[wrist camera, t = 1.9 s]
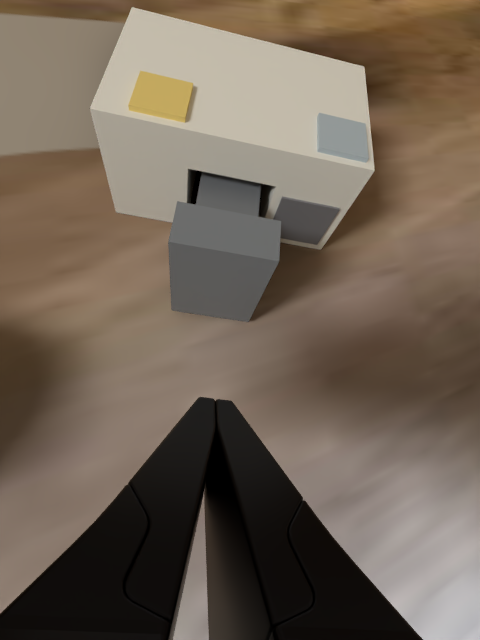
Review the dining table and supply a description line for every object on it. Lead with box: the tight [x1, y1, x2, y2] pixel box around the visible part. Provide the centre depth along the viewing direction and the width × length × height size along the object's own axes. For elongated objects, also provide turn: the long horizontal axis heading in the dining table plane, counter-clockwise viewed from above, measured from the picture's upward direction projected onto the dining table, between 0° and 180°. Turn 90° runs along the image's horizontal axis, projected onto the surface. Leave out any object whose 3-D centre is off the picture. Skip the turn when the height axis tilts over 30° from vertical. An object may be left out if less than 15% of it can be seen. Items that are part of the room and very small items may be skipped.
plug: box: [168, 171, 281, 322], centre depth 21 cm, size 9×5×8 cm, turn 175°
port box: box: [90, 7, 375, 250], centre depth 24 cm, size 10×16×8 cm, turn 85°
